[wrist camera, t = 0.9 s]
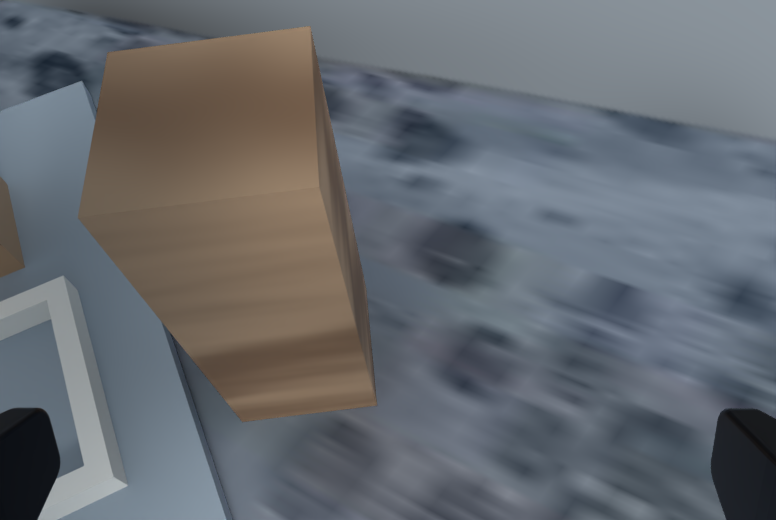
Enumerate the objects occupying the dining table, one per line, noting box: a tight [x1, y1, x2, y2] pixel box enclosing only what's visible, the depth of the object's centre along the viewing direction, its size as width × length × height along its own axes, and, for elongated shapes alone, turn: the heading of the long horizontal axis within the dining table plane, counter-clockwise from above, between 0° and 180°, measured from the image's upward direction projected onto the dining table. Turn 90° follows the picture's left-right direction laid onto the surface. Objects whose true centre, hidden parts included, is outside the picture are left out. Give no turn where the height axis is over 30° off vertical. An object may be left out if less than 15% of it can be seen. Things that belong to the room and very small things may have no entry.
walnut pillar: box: [78, 26, 377, 422], centre depth 21 cm, size 5×5×13 cm
